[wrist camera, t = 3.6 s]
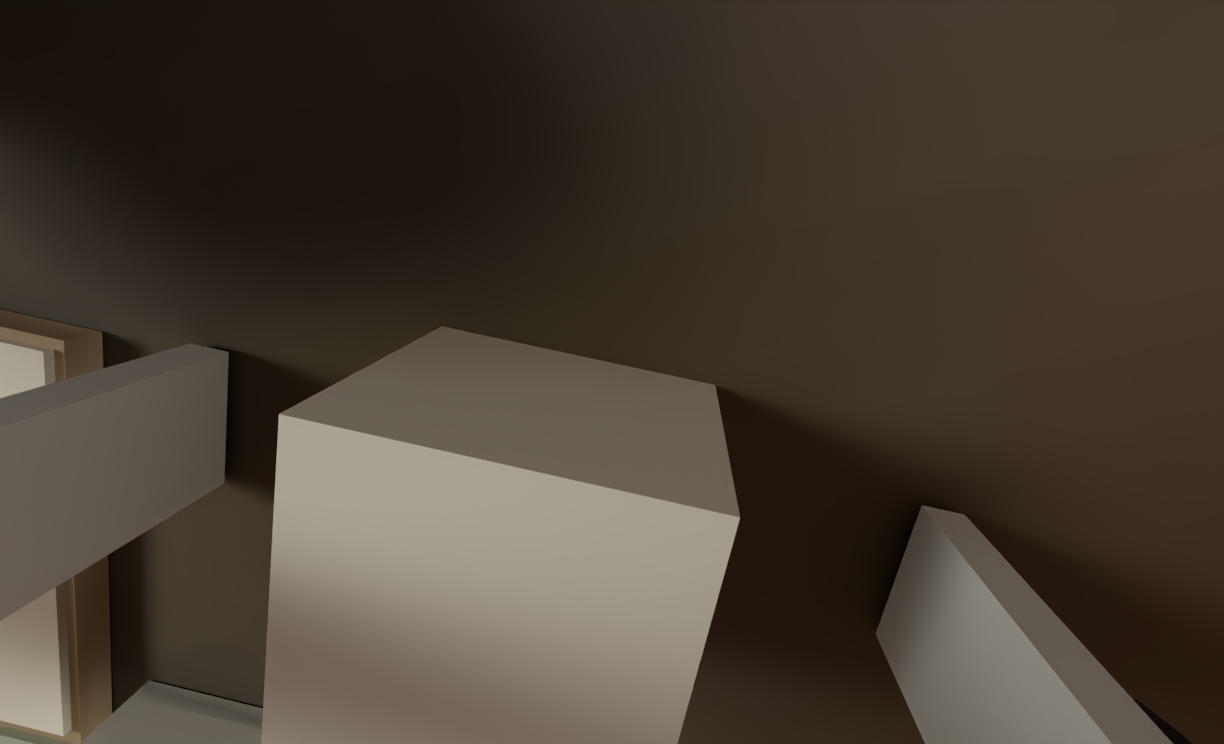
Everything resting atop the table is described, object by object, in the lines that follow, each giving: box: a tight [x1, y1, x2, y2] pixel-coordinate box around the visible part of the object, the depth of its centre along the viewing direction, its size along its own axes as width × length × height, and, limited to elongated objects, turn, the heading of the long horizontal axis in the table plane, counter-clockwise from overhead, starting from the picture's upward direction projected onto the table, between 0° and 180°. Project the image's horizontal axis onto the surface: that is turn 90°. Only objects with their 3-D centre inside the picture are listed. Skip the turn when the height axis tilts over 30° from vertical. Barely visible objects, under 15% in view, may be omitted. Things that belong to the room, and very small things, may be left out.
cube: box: [261, 326, 740, 744], centre depth 10 cm, size 5×5×5 cm
